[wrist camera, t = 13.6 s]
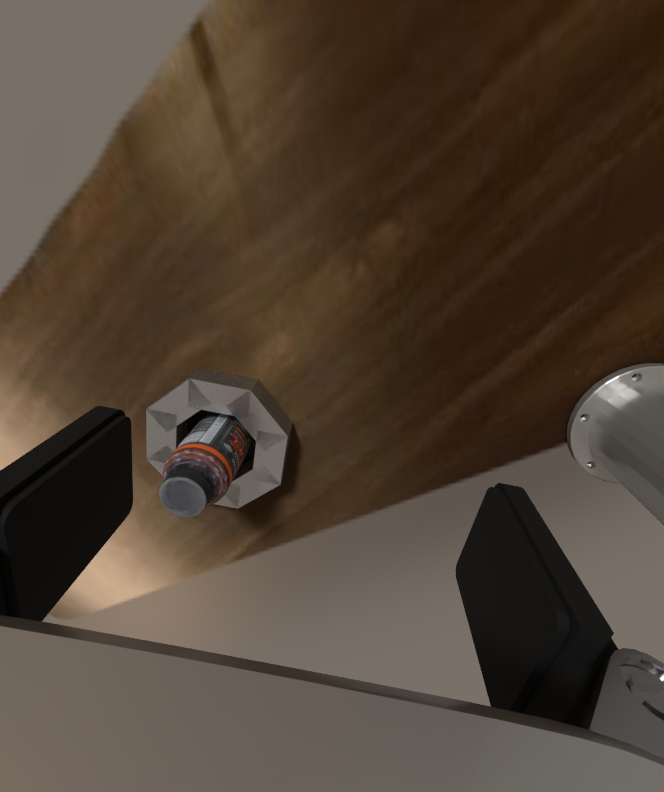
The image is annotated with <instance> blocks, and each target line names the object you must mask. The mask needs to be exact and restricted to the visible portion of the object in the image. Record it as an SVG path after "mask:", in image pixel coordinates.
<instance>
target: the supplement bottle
mask: <svg viewBox="0 0 664 792" xmlns="http://www.w3.org/2000/svg"><path fill="white" fill-rule="evenodd" d="M250 445H251V435H250V434H249V432H248V431H247V430H246V429H245V428H244V426H243V425H242V424H241V423H240V422H239V421H238V419H237V418H236V417H235V416H231V415H226V414H221V413H216V412H211V413H209V414H207V415H206V416H204V417H203V418H202V419H201V420H200V421H199V422H198V424H197V425H196V426H195V427H194V428H193V429H192V431H191V432H190V433H189V434H188V435H187V437H186V438H185V439H184V440H183V441H182V442H181V443H180V445H179V446H178V447H177V448H176V449H175V450H174V452H173V453H172V454H171V455H170V457H169V458H168V459H167V461H166V463H165V465H164V467H163V481H164V482H163V483H162V485H161V487H160V490H159V498H160V501H161V503H162V504H163V506H164V507H165V508H166V509H167V510H168V511H169V512H171V513H173V514H175V515H178V516H181V517H193V516H196V515H198V514H200V513H201V512H202V511H203V510H204V509H205V507H206V506H209V505H212V504H214V503H216V502H218V501H219V500H220V499H222V498H223V497H224V495H225V494H226V492H227V491H228V489H229V487H230V485H231V483H232V481H233V479H234V477H235V475H236V473H237V471H238V469H239V467H240V466H241V464H242V462H243V460H244V458H245V456H246V455H247V452H248V450H249V448H250Z"/></svg>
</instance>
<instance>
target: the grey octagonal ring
mask: <svg viewBox="0 0 664 792" xmlns="http://www.w3.org/2000/svg"><path fill="white" fill-rule="evenodd" d="M200 410H206V411H211V412H216V413H221V414H226V415H231V416H235V417H236V418H237V419H238V421H239V422H240V423H241V424H242V425H243V426H244V428H245V429H246V430H247V431H248V432H249V434H250V435H251V436H252V437H253V438H254V440H255V441H256V448H255V456H254V458H252V459H251V460H249V461H247V462H246V463H244V464H242V465H241V466H240V467H239V469H238V471H237V473H236V475H235V477H234V479H233V481H232V483H231V485H230V487H229V489H228V491H227V492H226V494H225V495H224V497H223V498H222V499H220V500H219V501H218V502H216V503H214V504H216V505H221V506H226V507H232V508H237V509H238V508H240V507H242V506H243V505H245V504H247V503H249V502H251V501H252V500H254V499H256V498H258V497H259V496H261V495H263V494H265V493H267V492H268V491H270V490H272V489H274V488H275V487H277V486H279V485H281V482H282V479H283V475H284V472H285V469H286V461H287V455H288V449H289V443H290V436H291V430H292V424H293V422H292V421H291V420H290V419H289V417H288V416H287V415H286V414H285V412H284V411H283V410H282V409H281V407H280V406H279V405H278V404H277V402H276V401H275V400H274V398H273V397H272V396H271V395H270V393H269V392H268V391H267V390H266V388H265V387H264V386H263V385H262V383H261V382H260V381H259V379H255V378H250V377H245V376H239V375H234V374H229V373H224V372H219V371H214V370H208V369H203V368H200V369H199V370H198V371H197V372H195V373H194V374H192V375H191V376H190V377H188V378H187V379H185V380H184V381H183V382H181V383H180V384H178V385H177V386H176V387H174V388H173V389H171V390H170V391H169V392H167V393H166V394H164V395H163V396H162V397H160V398H159V399H157V400H156V401H155V402H154V403H153V404H151V405H150V406H149V407H148V408H147V409H146V421H147V460H148V461H149V462H150V463H151V464H152V465H153V466H154V467H155V468H156V469H157V470H158V471H159V472H160V473H161V474H162V475H163V467H164V465H165V463H166V461H167V459H168V458H169V457H170V455H171V454H172V453H173V452H174V450H175V449H176V448H177V447H178V446H179V445H180V443H181V442H182V441H183V440H184V439H185V438H186V437H187V435H188V418H189V417H191V416H192V415H194V414H195V413H197V412H198V411H200Z"/></svg>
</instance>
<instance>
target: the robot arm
mask: <svg viewBox="0 0 664 792" xmlns="http://www.w3.org/2000/svg"><path fill="white" fill-rule="evenodd" d="M566 437H567V443H568V448H569V450H570V452H571V455H572V456H573V458H574V459H575V460H576V461H577V463H578V464H579V465H580V466H581V467H582V468H583V469H584V470H585V471H586V472H588V473H589V474H591V475H592V476H594V477H596V478H599V479H601V480H604V481H608V482H613V483H622V485H623V486H624V487H625V488H627V489H628V490H629V491H630V492H631V493H632V494H633V495H634V496H635V497H636V498H637V499H638V500H639V501H640V502H641V503H642V504H643V505H644V506H645V507H646V508H647V509H648V510H649V511H650V512H651V513H652V514H653V515H654V516H655V517H656V518H657V519H658V520H659V521H660V522H661V523H662V524H663V525H664V364H662V363H646V364H639V365H633V366H630V367H627V368H624V369H621V370H618V371H616V372H614V373H612V374H610V375H608V376H606V377H605V378H603V379H602V380H600V381H599V382H597V383H596V384H594V385H593V386H592V387H591V388H590V389H589V390H588V391H587V392H586V393H585V394H584V395H583V396H582V398H581V399H580V400H579V401H578V403H577V404H576V406H575V408H574V410H573V412H572V413H571V415H570V419H569V422H568V425H567V436H566ZM132 504H133V483H132V442H131V420H130V418H129V417H125V413H124V412H123V411H122V410H119V409H113V408H108V407H103V406H97V407H95V408H93V409H92V410H90V411H89V412H87V413H86V414H84V415H83V416H81V417H80V418H78V419H77V420H75V421H74V422H72V423H71V424H69V425H68V426H66V427H65V428H63V429H62V430H60V431H59V432H57V433H56V434H54V435H53V436H52V437H50V438H49V439H47V440H46V441H44V442H43V443H41V444H40V445H38V446H37V447H35V448H34V449H32V450H31V451H29V452H28V453H26V454H25V455H23V456H22V457H20V458H19V459H17V460H16V461H14V462H13V463H11V464H10V465H8V466H7V467H5V468H4V469H2V470H1V471H0V792H664V663H662V662H660V661H659V660H657V659H655V658H653V657H652V656H650V655H648V654H646V653H643V652H640V651H637V650H634V649H626V648H622V649H619V650H618V648H617V647H616V645H615V643H614V642H613V640H612V638H611V637H612V635H613V631H612V630H611V628H610V626H609V625H608V623H607V622H606V620H605V618H604V617H603V615H602V614H601V612H600V610H599V609H598V607H597V605H596V604H595V603H594V601H593V599H592V598H591V596H590V594H589V593H588V591H587V590H586V588H585V586H584V585H583V583H582V581H581V580H580V578H579V577H578V575H577V573H576V572H575V570H574V569H573V567H572V566H571V564H570V562H569V561H568V559H567V557H566V556H565V554H564V553H563V551H562V549H561V548H560V546H559V545H558V543H557V541H556V540H555V538H554V537H553V535H552V533H551V532H550V530H549V529H548V527H547V525H546V524H545V522H544V521H543V519H542V517H541V516H540V514H539V512H538V511H537V509H536V508H535V506H534V504H533V503H532V501H531V500H530V498H529V496H528V495H527V493H526V492H525V490H524V489H523V488H521V487H518V486H512V485H507V484H501V483H498V484H497V485H496V486H495V487H494V488H493V487H490V488H489V489H488V490H487V492H486V494H485V497H484V499H483V501H482V504H481V506H480V509H479V511H478V514H477V516H476V518H475V521H474V523H473V526H472V528H471V531H470V533H469V535H468V538H467V540H466V543H465V545H464V548H463V550H462V553H461V555H460V557H459V560H458V562H457V565H456V579H457V582H458V586H459V590H460V593H461V597H462V601H463V605H464V608H465V612H466V616H467V620H468V623H469V627H470V631H471V634H472V638H473V642H474V645H475V649H476V653H477V656H478V660H479V664H480V667H481V671H482V675H483V678H484V682H485V686H486V690H487V693H488V697H489V701H490V704H491V707H489V706H485V705H480V704H475V703H471V702H466V701H461V700H456V699H451V698H445V697H440V696H435V695H430V694H425V693H420V692H414V691H410V690H405V689H399V688H394V687H389V686H384V685H379V684H374V683H368V682H363V681H358V680H353V679H348V678H343V677H338V676H332V675H327V674H321V673H317V672H311V671H306V670H301V669H296V668H290V667H285V666H280V665H274V664H269V663H264V662H258V661H253V660H248V659H243V658H237V657H232V656H227V655H221V654H216V653H210V652H205V651H200V650H194V649H189V648H184V647H179V646H173V645H167V644H162V643H156V642H151V641H146V640H139V639H135V638H129V637H123V636H118V635H113V634H107V633H102V632H96V631H91V630H85V629H79V628H74V627H69V626H63V625H58V624H52V623H47V622H42V620H43V619H44V618H45V617H46V616H47V614H48V613H49V612H50V611H51V609H52V608H53V607H54V606H55V604H56V603H57V602H58V601H59V600H60V598H61V597H62V596H63V595H64V593H65V592H66V591H67V590H68V588H69V587H70V586H71V585H72V584H73V582H74V581H75V580H76V579H77V577H78V576H79V575H80V574H81V572H82V571H83V570H84V569H85V568H86V566H87V565H88V564H89V563H90V561H91V560H92V559H93V558H94V556H95V555H96V554H97V553H98V552H99V550H100V549H101V548H102V547H103V545H104V544H105V543H106V542H107V541H108V539H109V538H110V537H111V536H112V534H113V533H114V532H115V531H116V529H117V528H118V527H119V526H120V525H121V523H122V522H123V521H124V520H125V518H126V517H127V516H128V514H129V513H130V511H131V508H132Z"/></svg>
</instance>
